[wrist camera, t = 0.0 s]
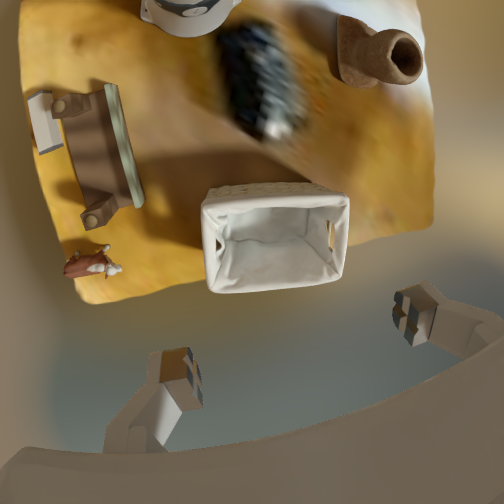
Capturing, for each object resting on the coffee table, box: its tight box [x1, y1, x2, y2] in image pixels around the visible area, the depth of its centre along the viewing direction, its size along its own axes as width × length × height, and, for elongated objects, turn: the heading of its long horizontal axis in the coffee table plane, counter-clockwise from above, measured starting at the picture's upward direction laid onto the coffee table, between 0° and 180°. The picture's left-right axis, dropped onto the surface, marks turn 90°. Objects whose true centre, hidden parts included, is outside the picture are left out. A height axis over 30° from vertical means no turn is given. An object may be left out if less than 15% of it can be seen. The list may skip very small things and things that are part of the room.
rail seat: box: [49, 83, 146, 231], centre depth 44 cm, size 23×12×11 cm, turn 10°
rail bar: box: [27, 90, 64, 155], centre depth 42 cm, size 12×4×4 cm, turn 10°
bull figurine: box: [64, 244, 122, 279], centre depth 54 cm, size 4×13×8 cm, turn 92°
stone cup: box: [337, 15, 423, 88], centre depth 41 cm, size 15×12×15 cm
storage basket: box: [201, 182, 349, 293], centre depth 54 cm, size 24×16×15 cm
